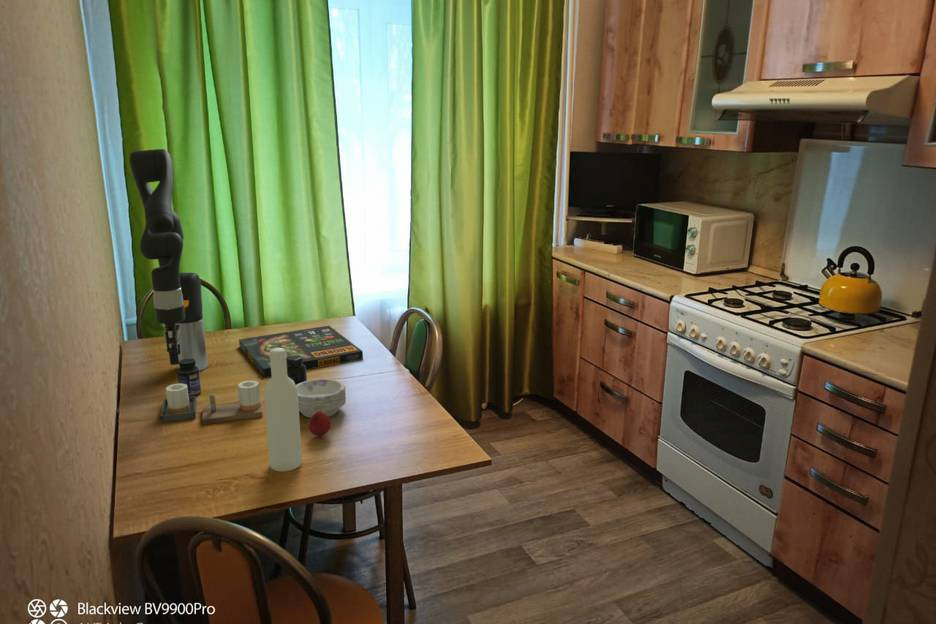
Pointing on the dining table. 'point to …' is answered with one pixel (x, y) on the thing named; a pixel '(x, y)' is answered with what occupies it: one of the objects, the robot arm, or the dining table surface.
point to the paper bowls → (320, 396)
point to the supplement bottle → (296, 369)
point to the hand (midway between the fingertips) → (175, 359)
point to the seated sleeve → (249, 395)
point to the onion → (319, 424)
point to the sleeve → (177, 398)
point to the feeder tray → (186, 415)
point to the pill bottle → (189, 376)
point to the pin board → (226, 412)
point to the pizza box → (302, 348)
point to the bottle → (282, 416)
